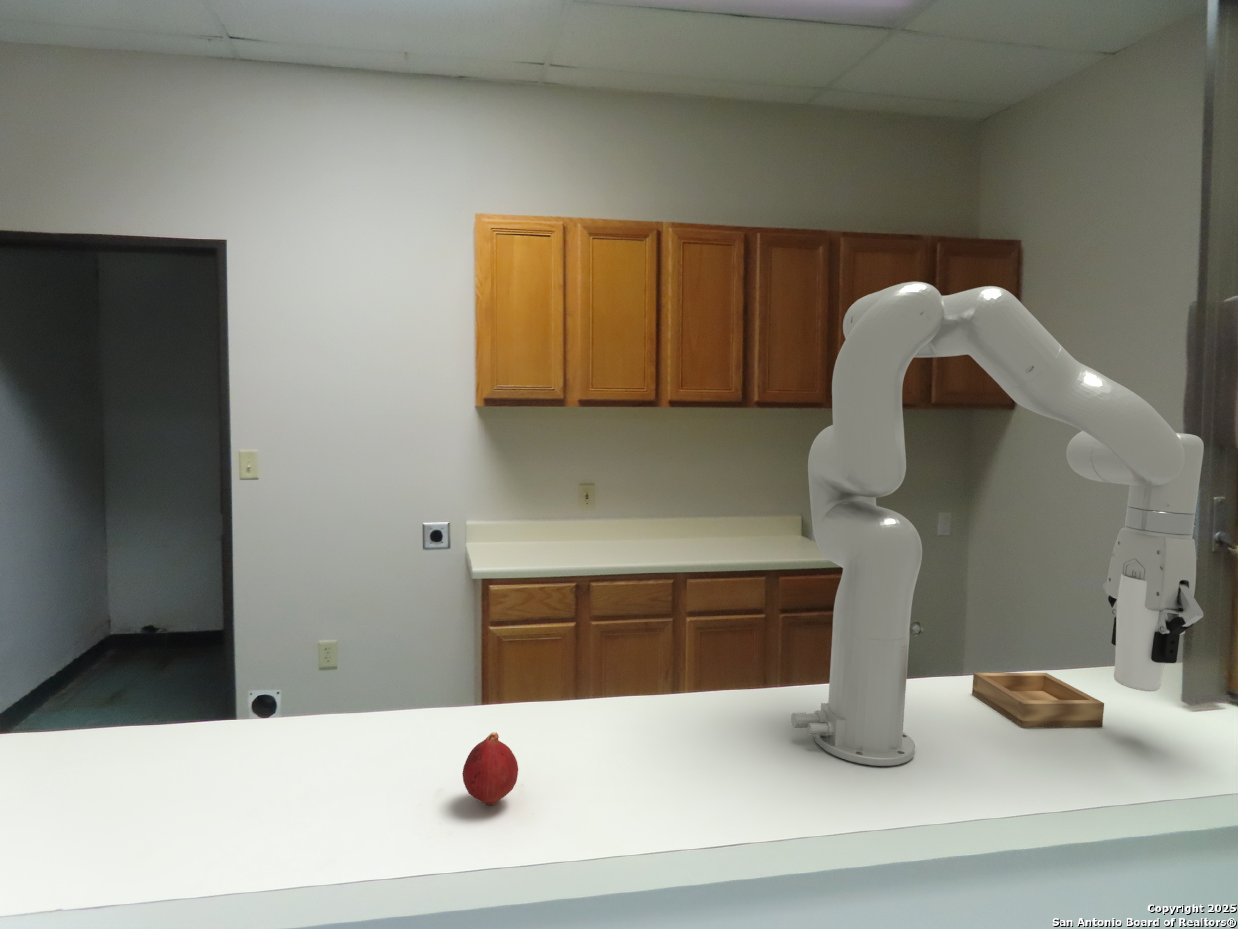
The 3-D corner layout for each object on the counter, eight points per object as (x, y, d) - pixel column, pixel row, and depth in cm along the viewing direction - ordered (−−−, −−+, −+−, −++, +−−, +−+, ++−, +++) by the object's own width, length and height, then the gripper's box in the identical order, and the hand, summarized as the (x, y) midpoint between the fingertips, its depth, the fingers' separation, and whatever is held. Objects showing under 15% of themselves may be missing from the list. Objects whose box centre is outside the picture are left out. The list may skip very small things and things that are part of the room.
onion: (468, 823, 77) (470, 748, 77) (457, 796, 82) (458, 725, 82) (523, 813, 79) (525, 740, 79) (509, 787, 85) (510, 718, 84)
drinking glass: (1147, 679, 106) (1161, 575, 105) (1178, 697, 99) (1193, 586, 98) (1097, 674, 106) (1110, 570, 105) (1124, 692, 100) (1138, 581, 99)
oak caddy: (1022, 727, 107) (1023, 703, 106) (972, 694, 119) (973, 673, 119) (1102, 727, 108) (1104, 703, 108) (1044, 694, 120) (1046, 672, 120)
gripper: (1086, 513, 109) (1072, 633, 111) (1188, 532, 92) (1170, 675, 94) (1133, 515, 110) (1119, 635, 112) (1243, 536, 93) (1224, 677, 94)
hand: (1142, 652), depth 103 cm, fingers closed on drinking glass, 6 cm apart
